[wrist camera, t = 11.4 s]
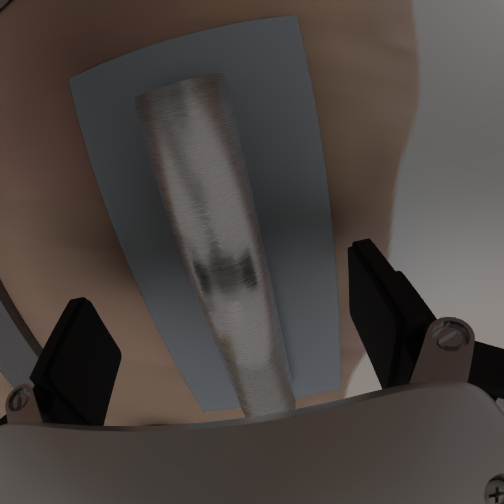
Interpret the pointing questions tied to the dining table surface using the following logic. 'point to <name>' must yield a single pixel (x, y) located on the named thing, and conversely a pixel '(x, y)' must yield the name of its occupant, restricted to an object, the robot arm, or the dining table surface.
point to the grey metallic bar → (218, 233)
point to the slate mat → (262, 185)
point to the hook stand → (16, 344)
